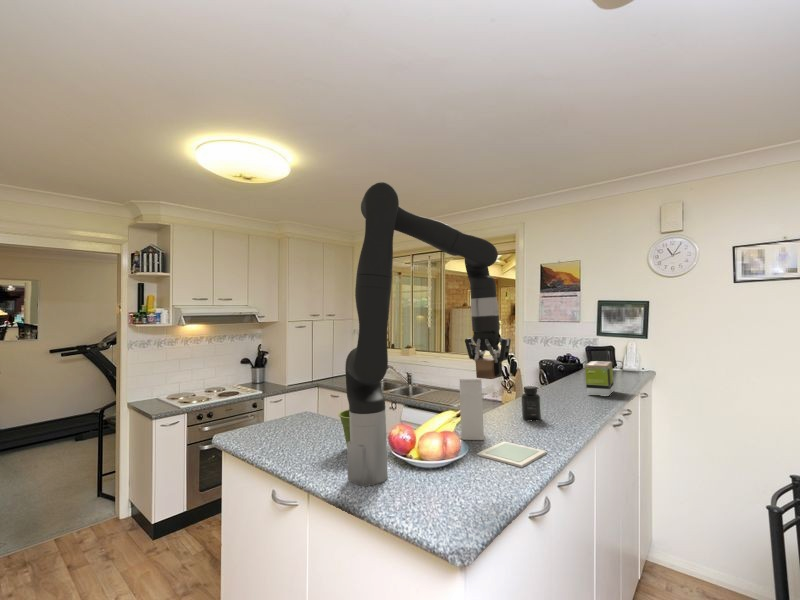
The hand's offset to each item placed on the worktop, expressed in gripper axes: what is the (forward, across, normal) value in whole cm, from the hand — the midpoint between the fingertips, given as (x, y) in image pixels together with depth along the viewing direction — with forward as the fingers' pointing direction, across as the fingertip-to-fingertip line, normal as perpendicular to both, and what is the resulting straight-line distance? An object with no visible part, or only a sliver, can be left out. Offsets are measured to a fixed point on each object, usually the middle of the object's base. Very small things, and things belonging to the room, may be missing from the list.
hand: (489, 375), depth 110 cm
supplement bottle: (+25, -14, +45) cm, 53 cm away
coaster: (+24, +1, +7) cm, 25 cm away
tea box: (+27, -11, +107) cm, 111 cm away
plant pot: (+23, -37, -19) cm, 47 cm away
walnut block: (0, 0, 0) cm, 0 cm away
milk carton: (+24, -17, +13) cm, 32 cm away
